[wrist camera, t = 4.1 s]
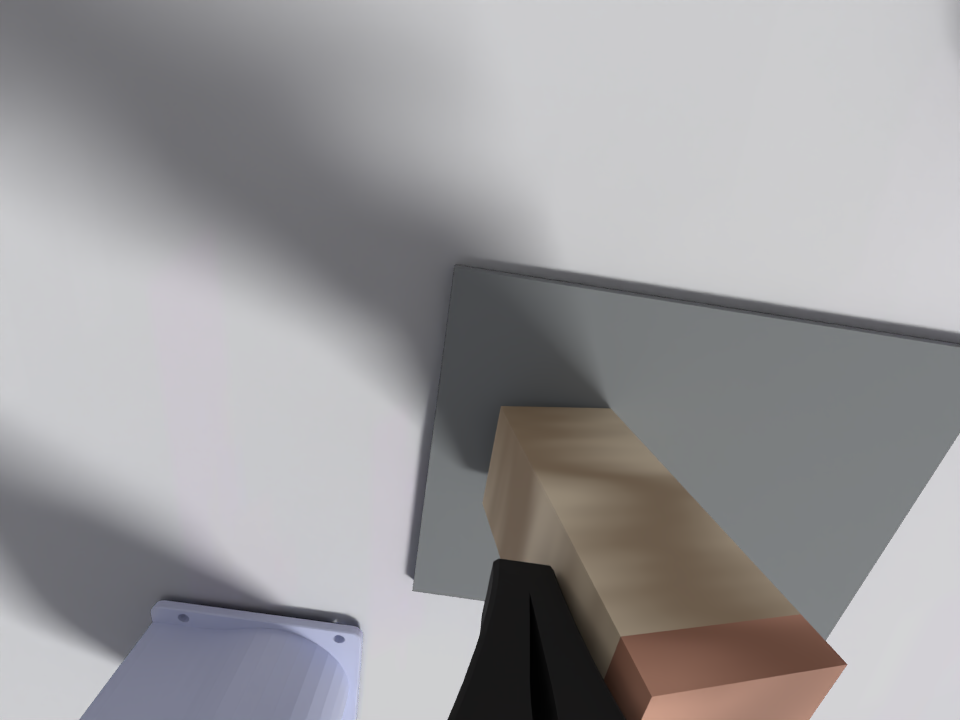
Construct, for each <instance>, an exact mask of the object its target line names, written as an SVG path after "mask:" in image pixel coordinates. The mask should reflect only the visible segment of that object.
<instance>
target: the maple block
mask: <svg viewBox="0 0 960 720" xmlns="http://www.w3.org/2000/svg"><path fill="white" fill-rule="evenodd" d="M482 504H483V507H484V510H485V513H486V516H487V519H488V522H489V525H490V528H491V531H492V534H493V537H494V540H495V543H496V546H497V549H498V553H499V556H500V559H507V560H514V561H521V562H528V563H535V564H543V565H550V566H551V567H552V569H553V570H554V572H555V575H556V578H557V580H558V583H559V585H560V588H561V590H562V593H563V595H564V598H565V600H566V602H567V605H568V607H569V609H570V612H571V614H572V616H573V618H574V621H575V623H576V625H577V627H578V629H579V631H580V633H581V636H582V638H583V640H584V642H585V644H586V646H587V648H588V650H589V652H590V654H591V656H592V658H593V660H594V662H595V664H596V666H597V668H598V670H599V671H600V673H601V675H602V677H603V679H604V681H605V683H606V685H607V686H608V688H609V690H610V692H611V694H612V695H613V697H614V699H615V701H616V703H617V704H618V706H619V708H620V710H621V711H622V713H623V715H624V717H625V718H626V720H809V719H810V718H811V716H812V715H813V713H814V712H815V710H816V709H817V708H818V706H819V705H820V703H821V702H822V700H823V699H824V697H825V696H826V695H827V693H828V692H829V690H830V689H831V687H832V686H833V684H834V683H835V682H836V680H837V679H838V677H839V676H840V674H841V673H842V671H843V670H844V669H845V667H846V666H847V664H846V663H845V661H844V660H843V659H842V658H841V657H840V656H839V655H838V654H837V653H836V652H835V651H834V650H833V648H832V647H831V646H830V645H829V644H828V643H827V642H826V641H825V640H824V639H823V638H822V637H821V635H820V634H819V633H818V632H817V631H816V630H815V629H814V628H813V627H812V626H811V625H810V624H809V623H808V621H807V620H806V619H805V618H804V617H803V616H802V615H801V614H800V613H799V612H798V611H797V610H796V608H795V607H794V606H793V605H792V604H791V603H790V602H789V601H788V600H787V599H786V598H785V597H784V595H783V594H782V593H781V592H780V591H779V590H778V589H777V588H776V587H775V586H774V585H773V584H772V582H771V581H770V580H769V579H768V578H767V577H766V576H765V575H764V574H763V573H762V572H761V571H760V569H759V568H758V567H757V566H756V565H755V564H754V563H753V562H752V561H751V560H750V559H749V558H748V556H747V555H746V554H745V553H744V552H743V551H742V550H741V549H740V548H739V547H738V546H737V545H736V543H735V542H734V541H733V540H732V539H731V538H730V537H729V536H728V535H727V534H726V533H725V532H724V531H723V529H722V528H721V527H720V526H719V525H718V524H717V523H716V522H715V521H714V520H713V519H712V518H711V516H710V515H709V514H708V513H707V512H706V511H705V510H704V509H703V508H702V507H701V506H700V505H699V503H698V502H697V501H696V500H695V499H694V498H693V497H692V496H691V495H690V494H689V493H688V492H687V490H686V489H685V488H684V487H683V486H682V485H681V484H680V483H679V482H678V481H677V480H676V479H675V477H674V476H673V475H672V474H671V473H670V472H669V471H668V470H667V469H666V468H665V467H664V466H663V464H662V463H661V462H660V461H659V460H658V459H657V458H656V457H655V456H654V455H653V454H652V453H651V452H650V450H649V449H648V448H647V447H646V446H645V445H644V444H643V443H642V442H641V441H640V440H639V439H638V437H637V436H636V435H635V434H634V433H633V432H632V431H631V430H630V429H629V428H628V427H627V426H626V424H625V423H624V422H623V421H622V420H621V419H620V418H619V417H618V416H617V415H616V414H615V413H614V411H613V410H612V409H611V408H571V407H522V406H501V408H500V413H499V419H498V424H497V429H496V434H495V440H494V445H493V450H492V455H491V460H490V466H489V471H488V476H487V481H486V487H485V492H484V497H483V502H482Z"/></svg>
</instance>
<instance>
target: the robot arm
mask: <svg viewBox="0 0 960 720" xmlns="http://www.w3.org/2000/svg"><path fill="white" fill-rule="evenodd" d="M151 617H152V623H151V625H150V626H149V627H148V629H147V630H146V631H145V633H144V634H143V635H142V637H141V638H140V639H139V641H138V642H137V643H136V645H135V646H134V647H133V649H132V650H131V651H130V653H129V654H128V655H127V657H126V658H125V659H124V661H123V662H122V663H121V665H120V666H119V667H118V669H117V670H116V671H115V673H114V674H113V675H112V677H111V678H110V679H109V681H108V682H107V683H106V685H105V686H104V687H103V689H102V690H101V691H100V693H99V694H98V695H97V697H96V698H95V699H94V701H93V702H92V703H91V705H90V706H89V707H88V709H87V710H86V711H85V713H84V714H83V715H82V717H81V718H80V719H79V720H357V709H358V696H359V682H360V669H361V656H362V643H363V632H362V631H361V630H360V629H359V628H358V627H355V626H351V625H343V624H336V623H329V622H321V621H314V620H307V619H299V618H292V617H285V616H277V615H270V614H263V613H255V612H248V611H241V610H233V609H226V608H219V607H211V606H204V605H197V604H189V603H182V602H175V601H167V600H161V601H158V602H157V603H156V604H155V605H154V606H153V608H152V609H151ZM448 720H626V718H625V717H624V715H623V713H622V711H621V710H620V708H619V706H618V704H617V703H616V701H615V699H614V697H613V695H612V694H611V692H610V690H609V688H608V686H607V685H606V683H605V681H604V679H603V677H602V675H601V673H600V671H599V670H598V668H597V666H596V664H595V662H594V660H593V658H592V656H591V654H590V652H589V650H588V648H587V646H586V644H585V642H584V640H583V638H582V636H581V633H580V631H579V629H578V627H577V625H576V623H575V621H574V618H573V616H572V614H571V612H570V609H569V607H568V605H567V602H566V600H565V598H564V595H563V593H562V590H561V588H560V585H559V583H558V580H557V578H556V575H555V572H554V570H553V569H552V567H551V566H550V565H543V564H535V563H528V562H521V561H514V560H507V559H497V560H495V561H493V565H492V570H491V575H490V579H489V584H488V589H487V594H486V598H485V603H484V608H483V613H482V620H481V630H480V636H479V639H478V642H477V645H476V648H475V651H474V654H473V657H472V659H471V662H470V665H469V667H468V670H467V673H466V676H465V678H464V681H463V684H462V686H461V689H460V691H459V694H458V696H457V699H456V701H455V703H454V706H453V708H452V710H451V713H450V715H449V717H448Z"/></svg>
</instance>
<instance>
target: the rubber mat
mask: <svg viewBox="0 0 960 720" xmlns="http://www.w3.org/2000/svg"><path fill="white" fill-rule="evenodd" d="M501 406H522V407H571V408H611V409H612V410H613V411H614V413H615V414H616V415H617V416H618V417H619V418H620V419H621V420H622V421H623V422H624V423H625V424H626V426H627V427H628V428H629V429H630V430H631V431H632V432H633V433H634V434H635V435H636V436H637V437H638V439H639V440H640V441H641V442H642V443H643V444H644V445H645V446H646V447H647V448H648V449H649V450H650V452H651V453H652V454H653V455H654V456H655V457H656V458H657V459H658V460H659V461H660V462H661V463H662V464H663V466H664V467H665V468H666V469H667V470H668V471H669V472H670V473H671V474H672V475H673V476H674V477H675V479H676V480H677V481H678V482H679V483H680V484H681V485H682V486H683V487H684V488H685V489H686V490H687V492H688V493H689V494H690V495H691V496H692V497H693V498H694V499H695V500H696V501H697V502H698V503H699V505H700V506H701V507H702V508H703V509H704V510H705V511H706V512H707V513H708V514H709V515H710V516H711V518H712V519H713V520H714V521H715V522H716V523H717V524H718V525H719V526H720V527H721V528H722V529H723V531H724V532H725V533H726V534H727V535H728V536H729V537H730V538H731V539H732V540H733V541H734V542H735V543H736V545H737V546H738V547H739V548H740V549H741V550H742V551H743V552H744V553H745V554H746V555H747V556H748V558H749V559H750V560H751V561H752V562H753V563H754V564H755V565H756V566H757V567H758V568H759V569H760V571H761V572H762V573H763V574H764V575H765V576H766V577H767V578H768V579H769V580H770V581H771V582H772V584H773V585H774V586H775V587H776V588H777V589H778V590H779V591H780V592H781V593H782V594H783V595H784V597H785V598H786V599H787V600H788V601H789V602H790V603H791V604H792V605H793V606H794V607H795V608H796V610H797V611H798V612H799V613H800V614H801V615H802V616H803V617H804V618H805V619H806V620H807V621H808V623H809V624H810V625H811V626H812V627H813V628H814V629H815V630H816V631H817V632H818V633H819V634H820V635H821V637H822V638H823V639H824V640H825V641H826V639H827V638H828V636H829V635H830V633H831V631H832V630H833V628H834V627H835V625H836V624H837V622H838V621H839V619H840V618H841V616H842V614H843V613H844V611H845V610H846V608H847V607H848V605H849V604H850V602H851V600H852V599H853V597H854V596H855V594H856V593H857V591H858V590H859V588H860V587H861V585H862V583H863V582H864V580H865V579H866V577H867V576H868V574H869V573H870V571H871V570H872V568H873V566H874V565H875V563H876V562H877V560H878V559H879V557H880V556H881V554H882V552H883V551H884V549H885V548H886V546H887V545H888V543H889V542H890V540H891V539H892V537H893V535H894V534H895V532H896V531H897V529H898V528H899V526H900V525H901V523H902V522H903V520H904V518H905V517H906V515H907V514H908V512H909V511H910V509H911V508H912V506H913V504H914V503H915V501H916V500H917V498H918V497H919V495H920V494H921V492H922V491H923V489H924V487H925V486H926V484H927V483H928V481H929V480H930V478H931V477H932V475H933V474H934V472H935V470H936V469H937V467H938V466H939V464H940V463H941V461H942V460H943V458H944V456H945V455H946V453H947V452H948V450H949V449H950V447H951V446H952V444H953V443H954V441H955V439H956V438H957V436H958V435H959V433H960V344H956V343H950V342H943V341H937V340H931V339H924V338H918V337H912V336H905V335H899V334H893V333H886V332H880V331H874V330H867V329H861V328H855V327H848V326H842V325H836V324H829V323H823V322H817V321H810V320H804V319H798V318H791V317H785V316H778V315H772V314H766V313H759V312H753V311H747V310H740V309H734V308H728V307H721V306H715V305H709V304H702V303H696V302H690V301H683V300H677V299H671V298H664V297H658V296H652V295H645V294H639V293H633V292H626V291H620V290H614V289H607V288H601V287H595V286H588V285H582V284H576V283H569V282H563V281H556V280H550V279H544V278H537V277H531V276H525V275H518V274H512V273H506V272H499V271H493V270H487V269H480V268H474V267H468V266H461V265H455V267H454V274H453V281H452V289H451V297H450V305H449V312H448V320H447V328H446V335H445V343H444V351H443V359H442V366H441V374H440V382H439V390H438V397H437V405H436V413H435V420H434V428H433V436H432V444H431V451H430V459H429V467H428V475H427V482H426V490H425V498H424V505H423V513H422V521H421V529H420V536H419V544H418V552H417V560H416V567H415V575H414V583H413V590H412V591H416V592H423V593H430V594H437V595H445V596H452V597H459V598H466V599H473V600H481V601H485V598H486V594H487V589H488V584H489V579H490V575H491V570H492V565H493V561H495V560H497V559H500V556H499V553H498V549H497V546H496V543H495V540H494V537H493V534H492V531H491V528H490V525H489V522H488V519H487V516H486V513H485V510H484V507H483V504H482V502H483V497H484V492H485V487H486V481H487V476H488V471H489V466H490V460H491V455H492V450H493V445H494V440H495V434H496V429H497V424H498V419H499V413H500V408H501Z"/></svg>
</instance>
